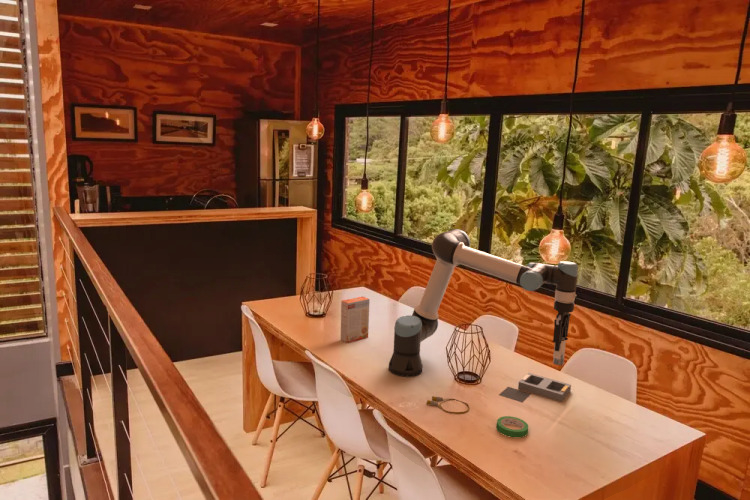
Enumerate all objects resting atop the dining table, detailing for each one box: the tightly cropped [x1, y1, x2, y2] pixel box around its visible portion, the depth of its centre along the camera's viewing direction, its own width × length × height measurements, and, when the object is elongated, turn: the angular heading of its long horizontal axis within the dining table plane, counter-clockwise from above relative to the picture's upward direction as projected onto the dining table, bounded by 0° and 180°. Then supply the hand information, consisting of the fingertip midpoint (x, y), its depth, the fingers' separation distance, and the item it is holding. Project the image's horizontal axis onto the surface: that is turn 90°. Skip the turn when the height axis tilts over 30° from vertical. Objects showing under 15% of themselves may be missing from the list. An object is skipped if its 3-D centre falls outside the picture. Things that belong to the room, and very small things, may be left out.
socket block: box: [517, 372, 572, 403], centre depth 230 cm, size 12×18×4 cm, turn 55°
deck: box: [498, 386, 532, 403], centre depth 225 cm, size 10×10×1 cm
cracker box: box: [340, 296, 370, 344], centre depth 278 cm, size 14×6×21 cm, turn 130°
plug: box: [552, 336, 567, 366], centre depth 223 cm, size 4×4×11 cm
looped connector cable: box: [426, 395, 470, 415], centre depth 215 cm, size 12×16×2 cm
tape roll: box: [495, 415, 529, 438], centre depth 199 cm, size 11×11×3 cm
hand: (558, 356), depth 224 cm, fingers closed on plug, 3 cm apart
